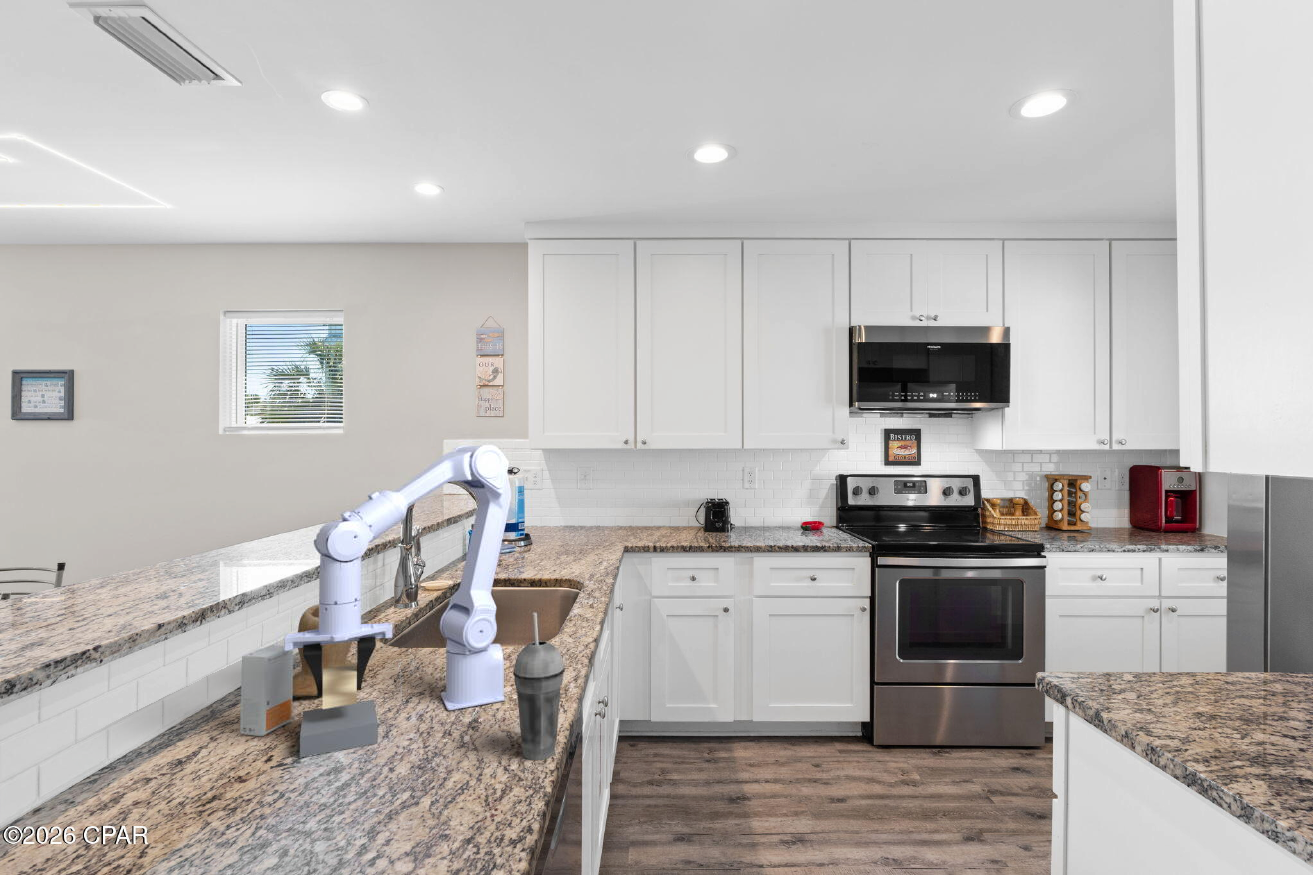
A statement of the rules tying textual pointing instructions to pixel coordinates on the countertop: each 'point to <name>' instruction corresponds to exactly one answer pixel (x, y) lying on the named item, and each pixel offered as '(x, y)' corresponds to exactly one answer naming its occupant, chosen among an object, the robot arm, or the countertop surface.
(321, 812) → the countertop surface
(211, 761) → the countertop surface
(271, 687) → the skincare box
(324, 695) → the maple cube
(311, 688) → the stone cup
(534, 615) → the beverage cup
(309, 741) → the base block
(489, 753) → the countertop surface
